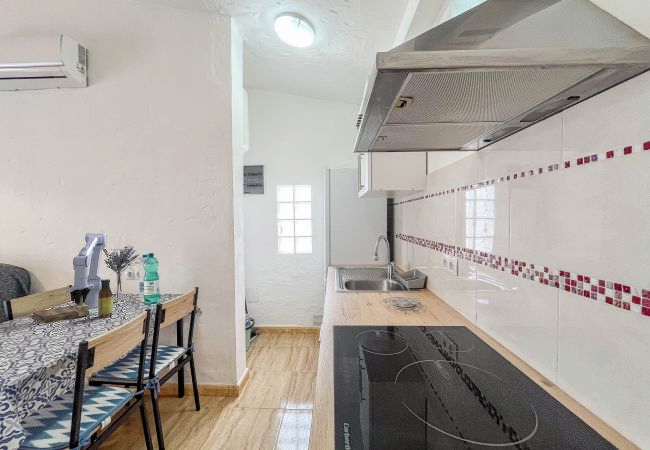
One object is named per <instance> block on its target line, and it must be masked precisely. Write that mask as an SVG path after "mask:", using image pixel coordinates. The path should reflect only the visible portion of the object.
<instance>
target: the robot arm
mask: <svg viewBox="0 0 650 450" xmlns="http://www.w3.org/2000/svg"><path fill="white" fill-rule="evenodd" d="M84 240H85V243H86V244H85V246H83V247H82V248H81V249H80V251H79V253H78V255H76V256H74V257H73V259H72V265H73V266H72V267H73V270H74V278H73V286H70V287H67V288H66V289H65V293H70V294H71V295H72V297H73V301H74V305H77V304H80V297H81V295H83V304H84V305H89V308H88V309H93V308H98V298H99V291H100V290H101V280H102V279H104V278H103V277H102V276H101V275H100V274H99V271H100V267H101V259H102V252H103V249H104V248H106V247H107V242H108V236H107V234H106V233H105V232H104V233H101V232H100V233H99V232H96V233H95V232H87V233H86V234H85V237H84Z"/></svg>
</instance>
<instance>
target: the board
mask: <svg viewBox="0 0 650 450" xmlns="http://www.w3.org/2000/svg"><path fill="white" fill-rule="evenodd" d="M33 315H34V316H33ZM32 316H33V317H35V318H36V317H37V318H36V319H38V318H39V319H38V320H40V321H42V322H44V323H47V322H48V323H53V321H54V322H59V321H63V320H64V321H65V320H69V319H75V317H76V318H81V317H82V316H78V312H75V311H73V305H69V306H63V307H56V308H51V309H44V310H38V311H33V313H32ZM86 316H87V317H88V316H90V311H89V310H88V315H85V316H84V317H86ZM58 320H59V321H58Z"/></svg>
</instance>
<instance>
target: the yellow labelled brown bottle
mask: <svg viewBox="0 0 650 450" xmlns="http://www.w3.org/2000/svg"><path fill="white" fill-rule="evenodd" d="M110 285H111V279H110V278H103V279H102V280H101V290H100V291H99V298H98V307H97V309H98V318H101V319H102V318H109V317H112V316H113V305H114V304H113V302H114V301H113V293H112V292H113V291H112V290H111V287H110Z"/></svg>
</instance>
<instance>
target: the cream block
mask: <svg viewBox="0 0 650 450" xmlns="http://www.w3.org/2000/svg"><path fill="white" fill-rule="evenodd" d="M72 306H73V311H75V312H78V316H81V317H86V316H85V315H87V316H89V315H88V311H89V309H90V308H89V305H84V303H83V295H81V297H80V304H73V305H72Z"/></svg>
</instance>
